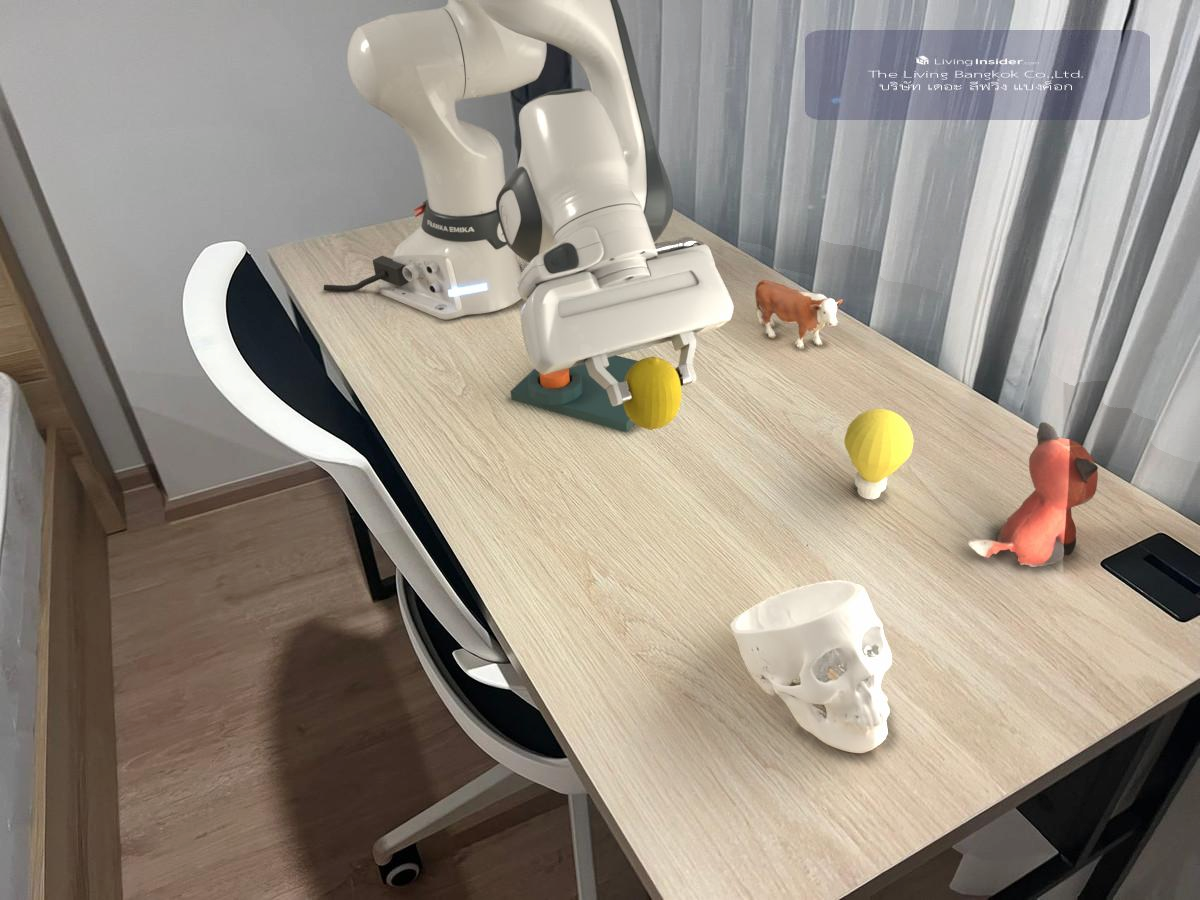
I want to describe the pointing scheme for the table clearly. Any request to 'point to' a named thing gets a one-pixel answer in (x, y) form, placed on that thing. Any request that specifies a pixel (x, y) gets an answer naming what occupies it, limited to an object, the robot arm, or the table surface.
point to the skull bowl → (821, 660)
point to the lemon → (653, 393)
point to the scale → (579, 395)
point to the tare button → (555, 379)
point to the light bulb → (877, 448)
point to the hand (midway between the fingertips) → (654, 394)
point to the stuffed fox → (1047, 503)
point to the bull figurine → (795, 309)
